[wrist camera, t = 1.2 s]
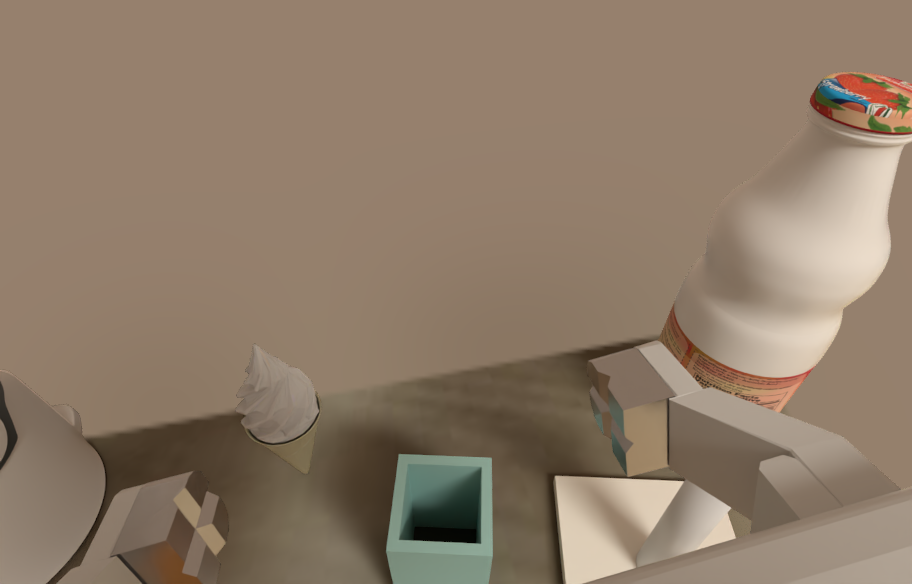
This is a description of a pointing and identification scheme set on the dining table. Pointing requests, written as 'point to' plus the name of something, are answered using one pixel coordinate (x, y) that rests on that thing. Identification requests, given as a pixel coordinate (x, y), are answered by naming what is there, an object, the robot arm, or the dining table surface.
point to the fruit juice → (794, 245)
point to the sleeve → (441, 519)
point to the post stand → (632, 523)
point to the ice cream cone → (280, 408)
